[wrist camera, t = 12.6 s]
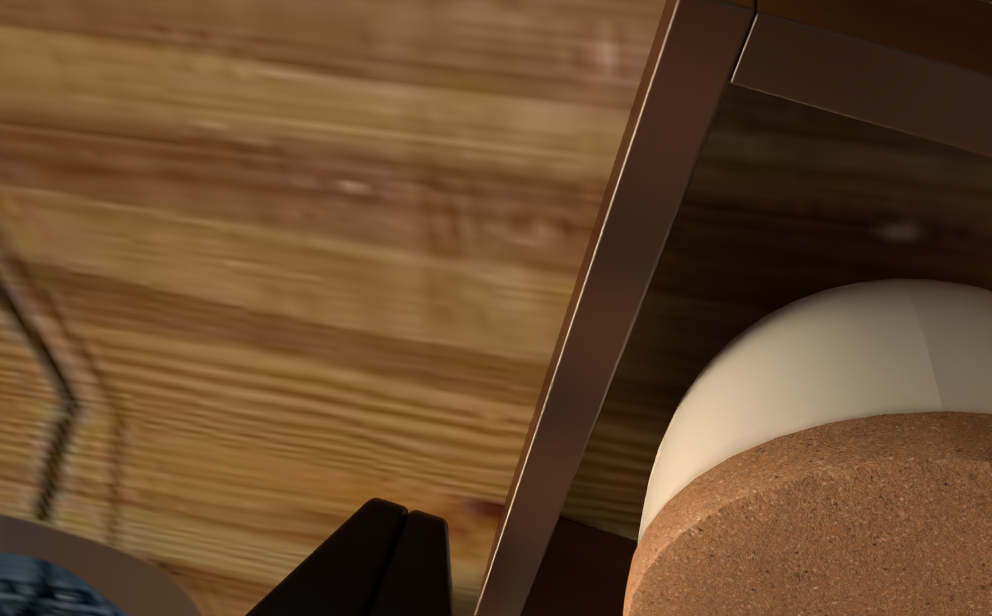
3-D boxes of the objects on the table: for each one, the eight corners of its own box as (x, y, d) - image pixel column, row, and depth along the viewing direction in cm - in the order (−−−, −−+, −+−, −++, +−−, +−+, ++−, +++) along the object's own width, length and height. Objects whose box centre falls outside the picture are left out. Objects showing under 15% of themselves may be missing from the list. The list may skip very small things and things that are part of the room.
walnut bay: (846, 633, 27) (859, 761, 24) (498, 524, 28) (466, 635, 25) (1302, 87, 16) (1437, 199, 13) (691, -79, 16) (679, -11, 13)
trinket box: (672, 524, 26) (643, 869, 19) (632, 206, 20) (568, 531, 13) (1091, 541, 23) (1252, 961, 16) (1191, 171, 17) (1525, 572, 10)
